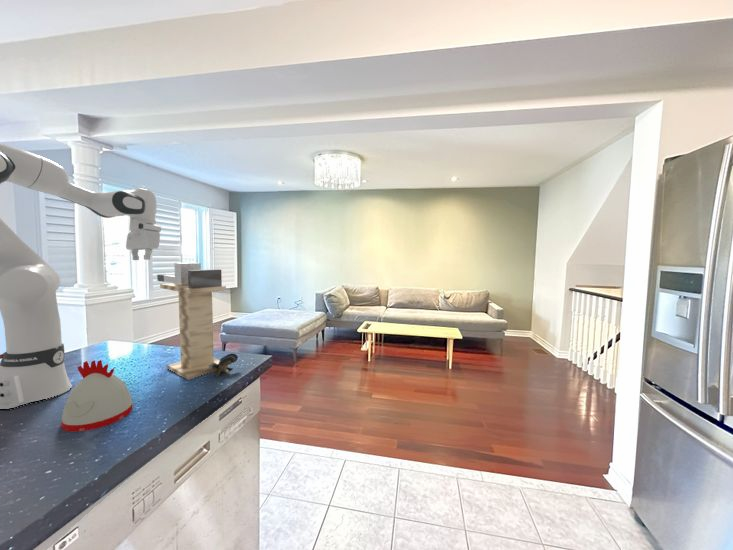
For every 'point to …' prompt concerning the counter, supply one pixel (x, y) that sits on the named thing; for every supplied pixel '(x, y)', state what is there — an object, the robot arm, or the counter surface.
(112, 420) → the kitchen timer
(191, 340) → the shelf
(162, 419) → the counter surface
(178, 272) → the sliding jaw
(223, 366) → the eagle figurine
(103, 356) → the counter surface
